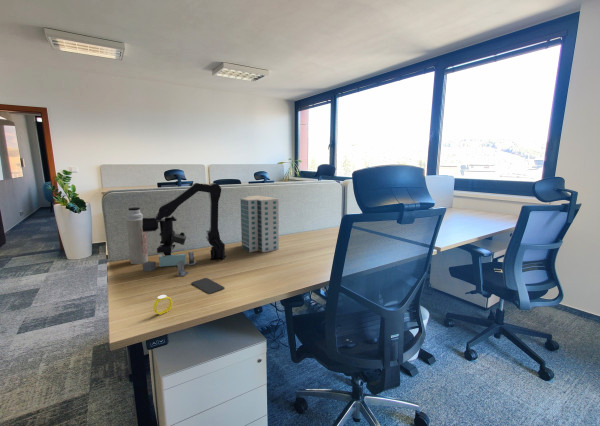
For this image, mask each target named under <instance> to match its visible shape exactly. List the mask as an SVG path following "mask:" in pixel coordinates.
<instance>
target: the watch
mask: <svg viewBox="0 0 600 426" xmlns="http://www.w3.org/2000/svg"><path fill="white" fill-rule="evenodd" d="M166 299H168V307H166V309H165V310H162V311H158V310H157V306H158V303H159V302H160V301H164V300H166ZM172 306H173V299H172V298H171V297H169V296H167V294H161V295H158V296H157V298H156V300H155V301H154V303H153V306H152V309H153V312H154V313H155V314H156V315H158V316H159V315H160V316H162V315H164V314H165V313H166V314H167V313H168V312H169V311H170V310H171V308H172Z"/></svg>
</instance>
